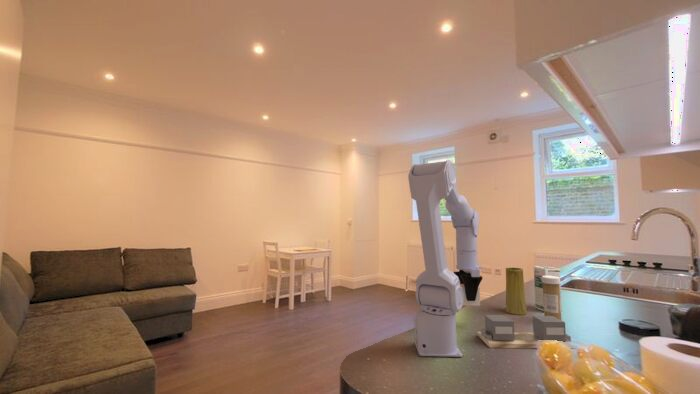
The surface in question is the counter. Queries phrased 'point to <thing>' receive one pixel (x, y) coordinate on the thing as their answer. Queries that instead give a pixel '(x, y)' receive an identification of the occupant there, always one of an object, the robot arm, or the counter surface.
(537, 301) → the syrup box
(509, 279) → the vase
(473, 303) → the block
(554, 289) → the sprinkles bottle
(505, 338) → the board
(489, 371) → the counter surface
